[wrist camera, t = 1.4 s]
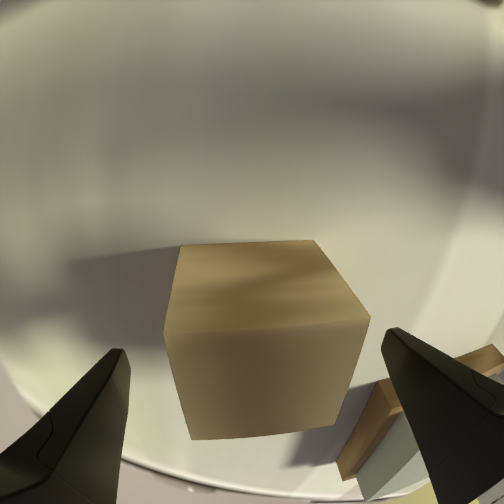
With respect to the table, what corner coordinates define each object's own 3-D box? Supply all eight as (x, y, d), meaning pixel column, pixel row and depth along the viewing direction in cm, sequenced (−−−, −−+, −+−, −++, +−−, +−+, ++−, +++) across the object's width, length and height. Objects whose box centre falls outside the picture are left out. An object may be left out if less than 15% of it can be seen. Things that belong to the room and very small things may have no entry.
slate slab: (495, 372, 16) (514, 396, 13) (442, 441, 20) (455, 463, 17) (400, 411, 14) (420, 448, 12) (355, 474, 19) (365, 502, 16)
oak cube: (313, 239, 11) (371, 317, 7) (301, 338, 14) (334, 424, 9) (181, 244, 11) (163, 332, 6) (193, 345, 13) (191, 439, 8)
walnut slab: (487, 338, 18) (507, 360, 15) (434, 422, 23) (446, 442, 20) (373, 373, 17) (392, 408, 14) (334, 455, 22) (342, 481, 19)
